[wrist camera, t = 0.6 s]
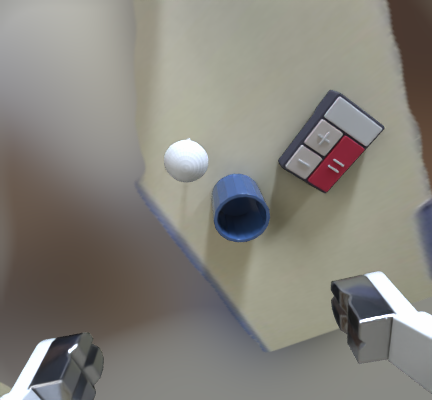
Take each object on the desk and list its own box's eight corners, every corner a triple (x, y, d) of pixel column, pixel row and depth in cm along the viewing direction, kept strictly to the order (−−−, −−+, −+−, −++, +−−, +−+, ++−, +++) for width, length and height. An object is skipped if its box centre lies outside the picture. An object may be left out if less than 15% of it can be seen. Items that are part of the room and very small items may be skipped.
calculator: (281, 168, 49) (341, 92, 43) (276, 160, 53) (330, 88, 47) (327, 196, 52) (388, 128, 46) (318, 186, 56) (374, 122, 50)
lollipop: (208, 125, 48) (212, 150, 35) (203, 157, 51) (206, 191, 38) (172, 120, 48) (163, 143, 34) (170, 153, 50) (160, 186, 37)
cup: (204, 184, 54) (205, 206, 46) (251, 166, 52) (260, 185, 44) (221, 223, 58) (225, 249, 50) (265, 207, 57) (276, 231, 49)
